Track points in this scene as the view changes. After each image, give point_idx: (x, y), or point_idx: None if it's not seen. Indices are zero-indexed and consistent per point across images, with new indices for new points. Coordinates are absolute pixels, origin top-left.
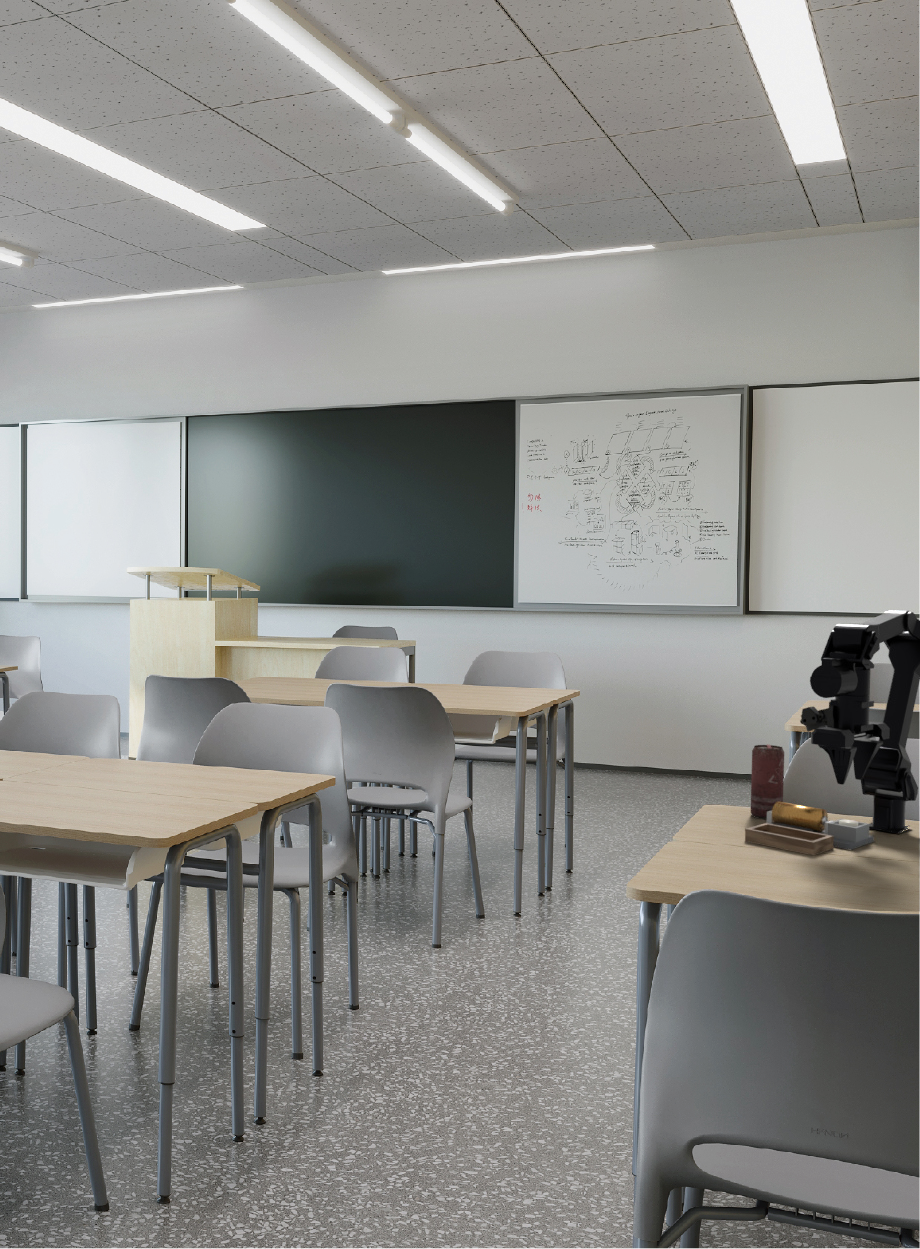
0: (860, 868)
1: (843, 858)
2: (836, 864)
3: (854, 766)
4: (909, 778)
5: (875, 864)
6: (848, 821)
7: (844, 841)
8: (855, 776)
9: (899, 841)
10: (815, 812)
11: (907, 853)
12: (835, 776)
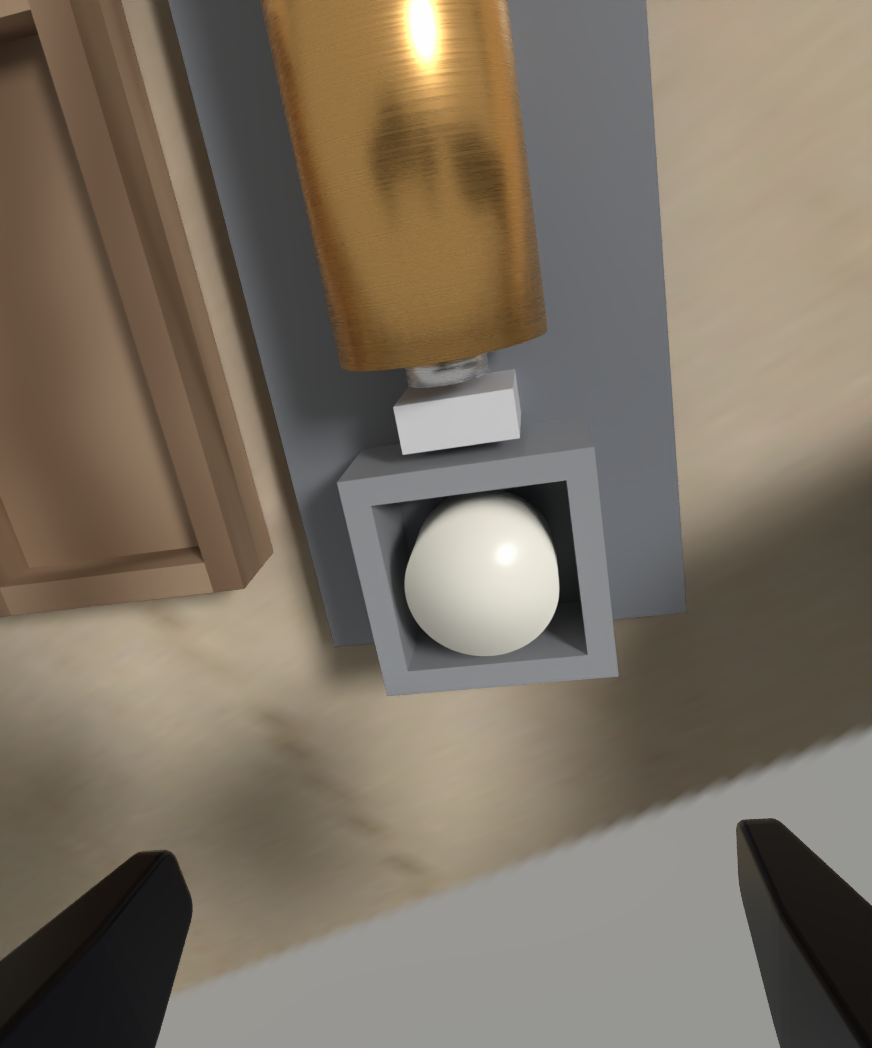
0: (92, 827)
1: (156, 697)
2: (34, 735)
3: (823, 1001)
4: None
5: (218, 833)
6: (485, 584)
7: (360, 586)
8: (748, 851)
9: (846, 677)
10: (353, 326)
11: (574, 828)
12: (47, 924)
